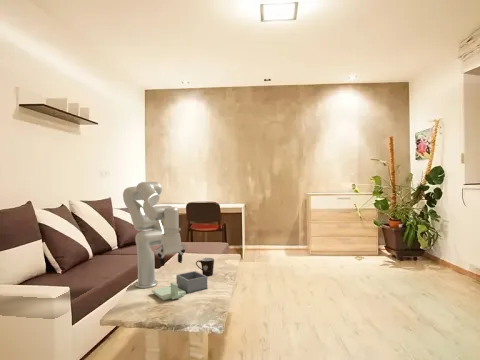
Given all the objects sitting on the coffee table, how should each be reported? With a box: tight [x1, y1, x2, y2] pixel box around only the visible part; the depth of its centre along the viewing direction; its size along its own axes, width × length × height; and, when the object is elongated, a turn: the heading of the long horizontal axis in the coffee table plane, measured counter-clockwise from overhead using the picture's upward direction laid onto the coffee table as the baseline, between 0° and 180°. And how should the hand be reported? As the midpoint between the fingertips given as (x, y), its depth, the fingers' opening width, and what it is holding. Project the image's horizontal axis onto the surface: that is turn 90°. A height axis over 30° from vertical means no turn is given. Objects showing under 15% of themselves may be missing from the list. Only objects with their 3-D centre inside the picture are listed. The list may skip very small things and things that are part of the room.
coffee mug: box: [195, 257, 215, 277], centre depth 211 cm, size 12×9×10 cm
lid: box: [151, 281, 187, 301], centre depth 173 cm, size 17×13×8 cm
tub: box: [175, 270, 208, 295], centre depth 185 cm, size 14×12×7 cm
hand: (171, 263), depth 171 cm, fingers open, 9 cm apart
